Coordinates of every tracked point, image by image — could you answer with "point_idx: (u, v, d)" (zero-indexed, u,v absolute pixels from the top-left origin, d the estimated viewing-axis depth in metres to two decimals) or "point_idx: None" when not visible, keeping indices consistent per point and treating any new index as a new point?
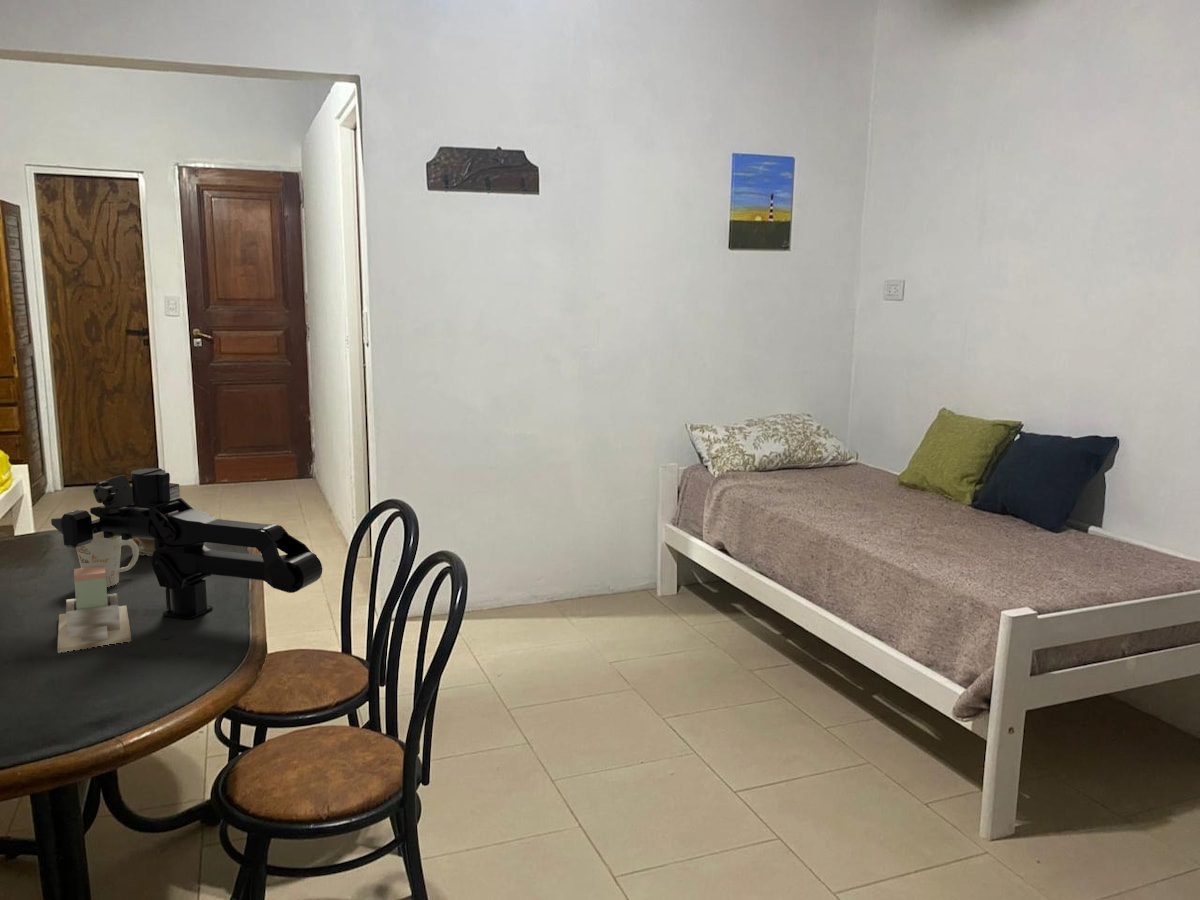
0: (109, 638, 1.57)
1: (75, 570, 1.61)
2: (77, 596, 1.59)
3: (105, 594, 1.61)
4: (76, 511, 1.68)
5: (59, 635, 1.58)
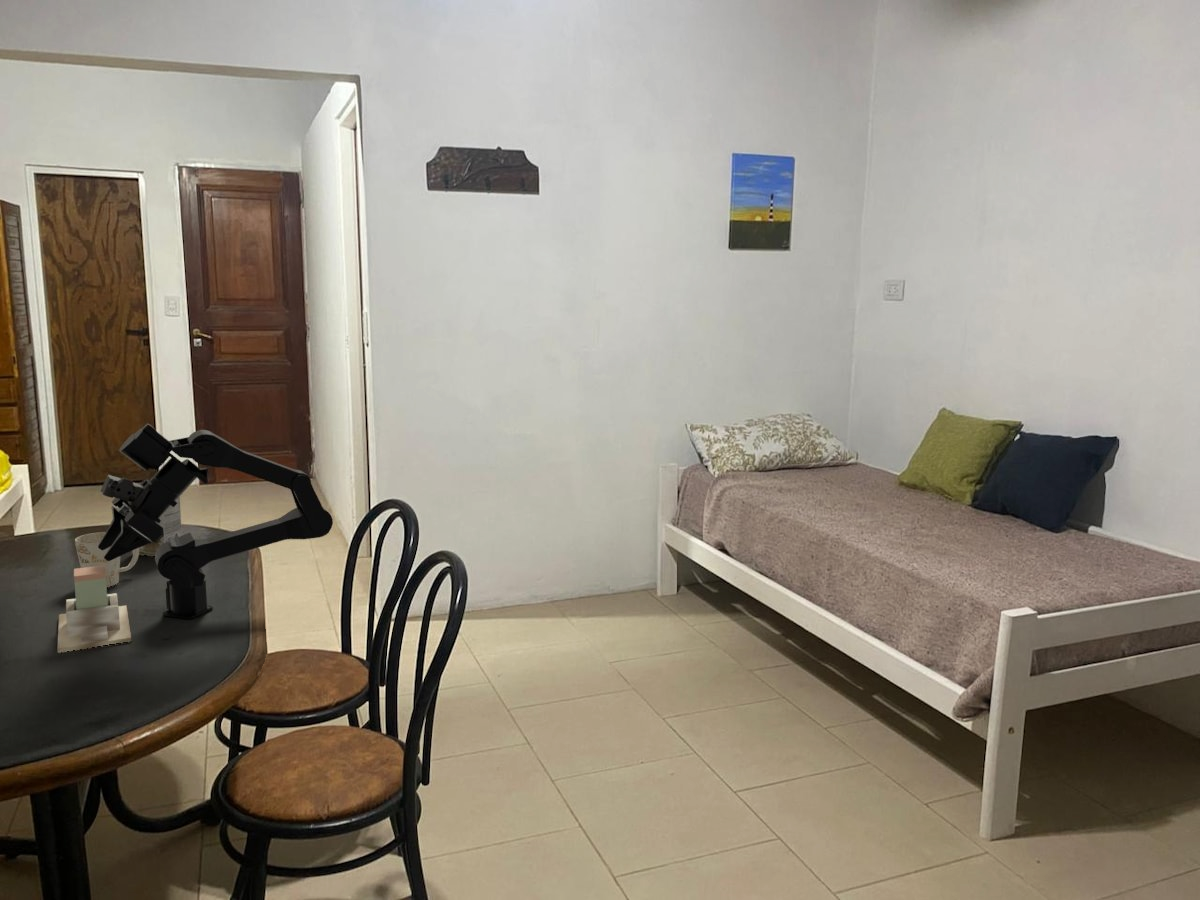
0: (109, 638, 1.57)
1: (75, 570, 1.61)
2: (77, 596, 1.59)
3: (105, 594, 1.61)
4: (126, 517, 1.58)
5: (59, 635, 1.58)
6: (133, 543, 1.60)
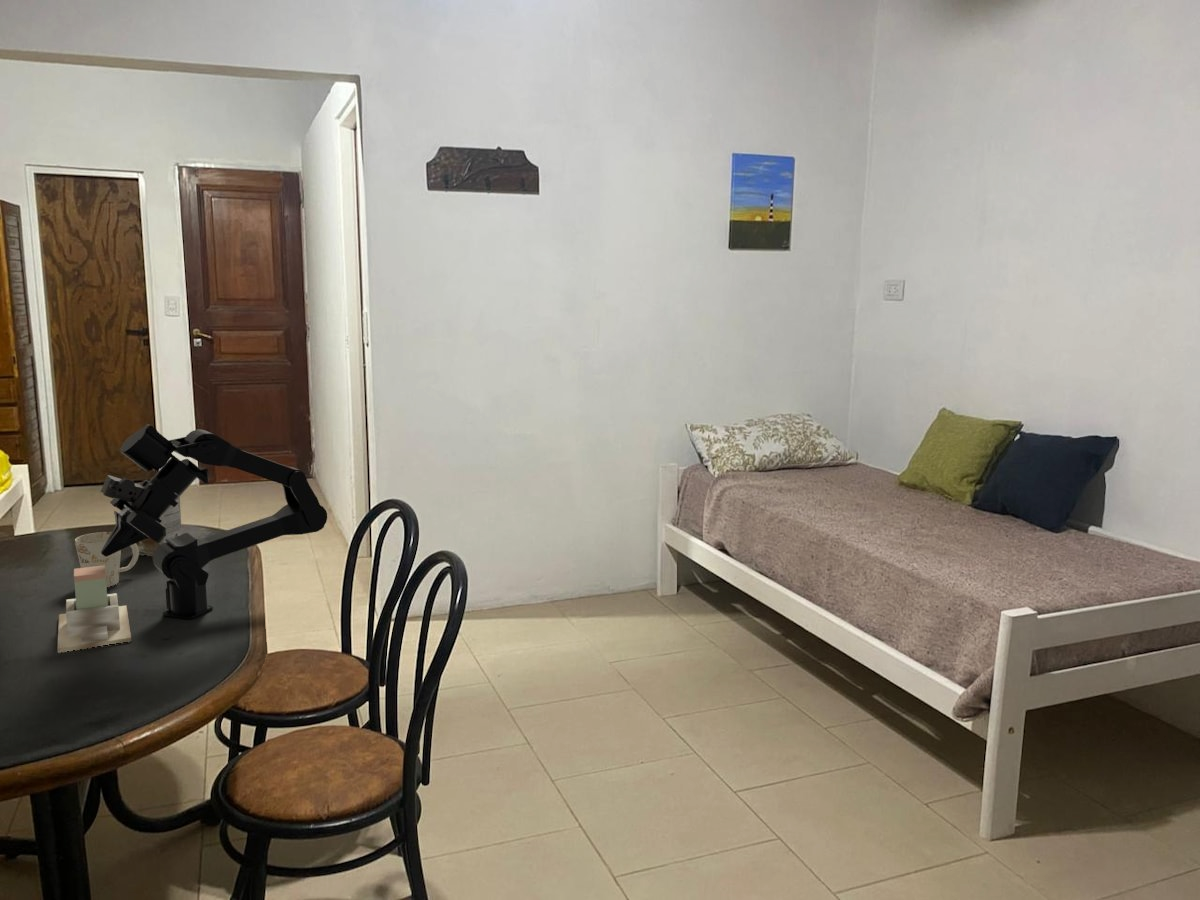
0: (109, 638, 1.57)
1: (75, 570, 1.61)
2: (77, 596, 1.59)
3: (105, 594, 1.61)
4: (128, 517, 1.58)
5: (59, 635, 1.58)
6: (130, 539, 1.63)
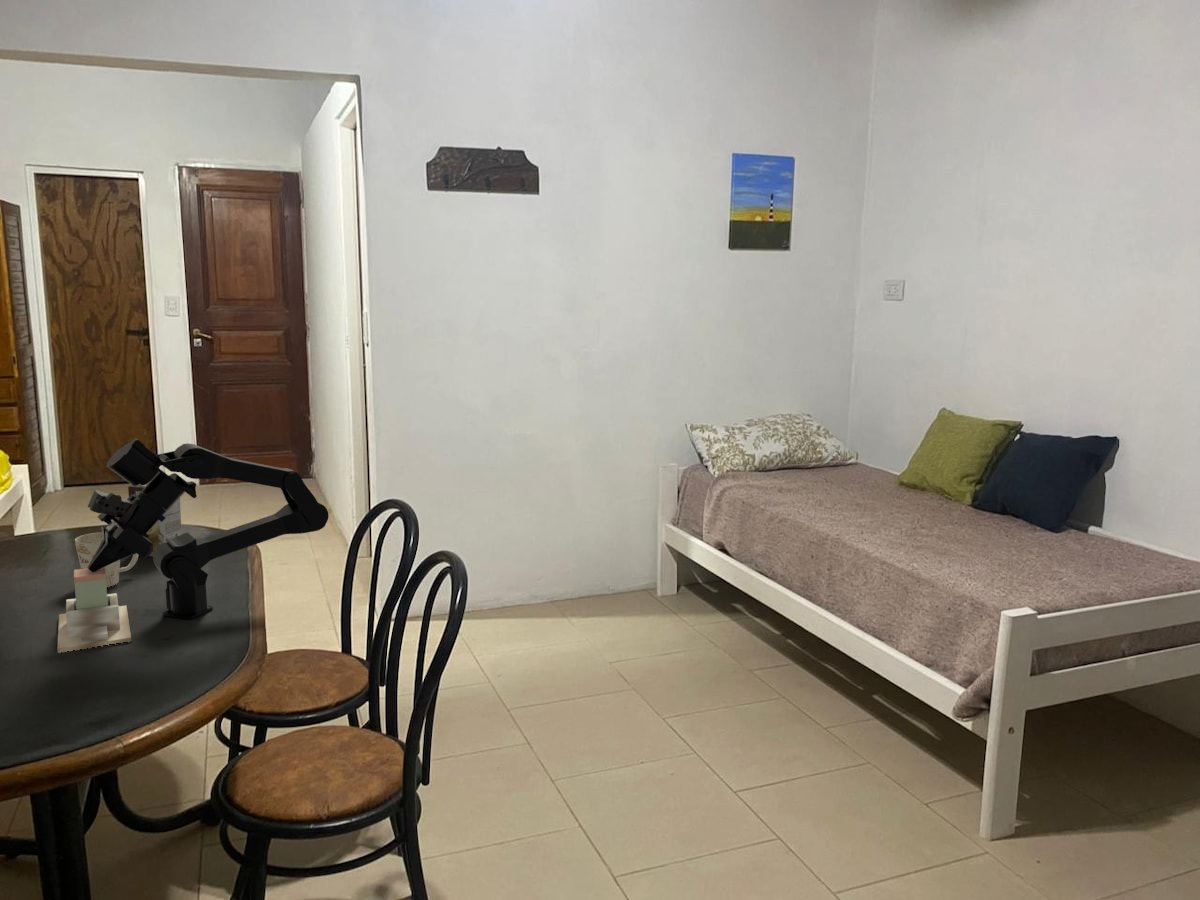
0: (109, 638, 1.57)
1: (75, 571, 1.61)
2: (77, 597, 1.59)
3: (105, 595, 1.61)
4: (115, 533, 1.57)
5: (59, 635, 1.58)
6: (117, 554, 1.62)
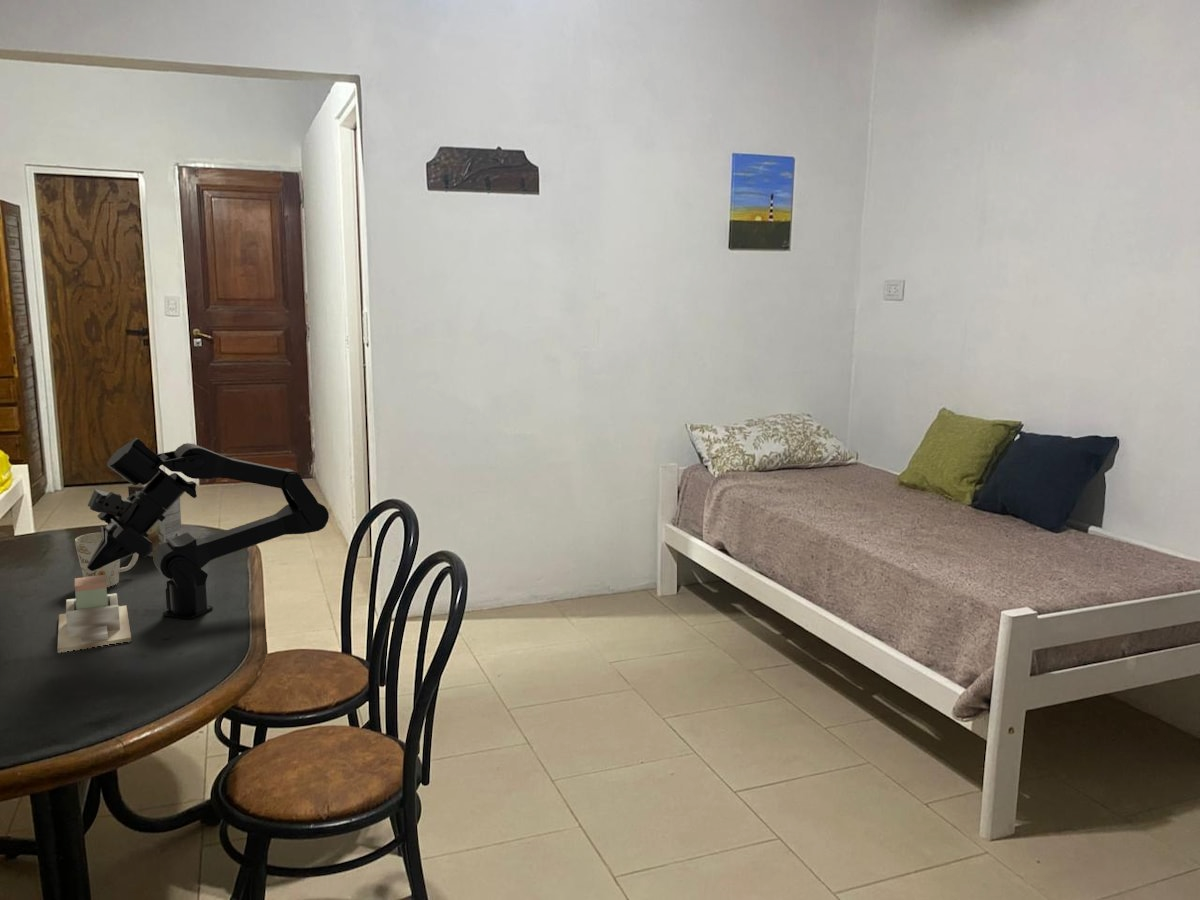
0: (109, 638, 1.57)
1: (76, 580, 1.62)
2: (78, 606, 1.59)
3: (106, 604, 1.61)
4: (115, 532, 1.57)
5: (59, 635, 1.58)
6: (117, 553, 1.62)
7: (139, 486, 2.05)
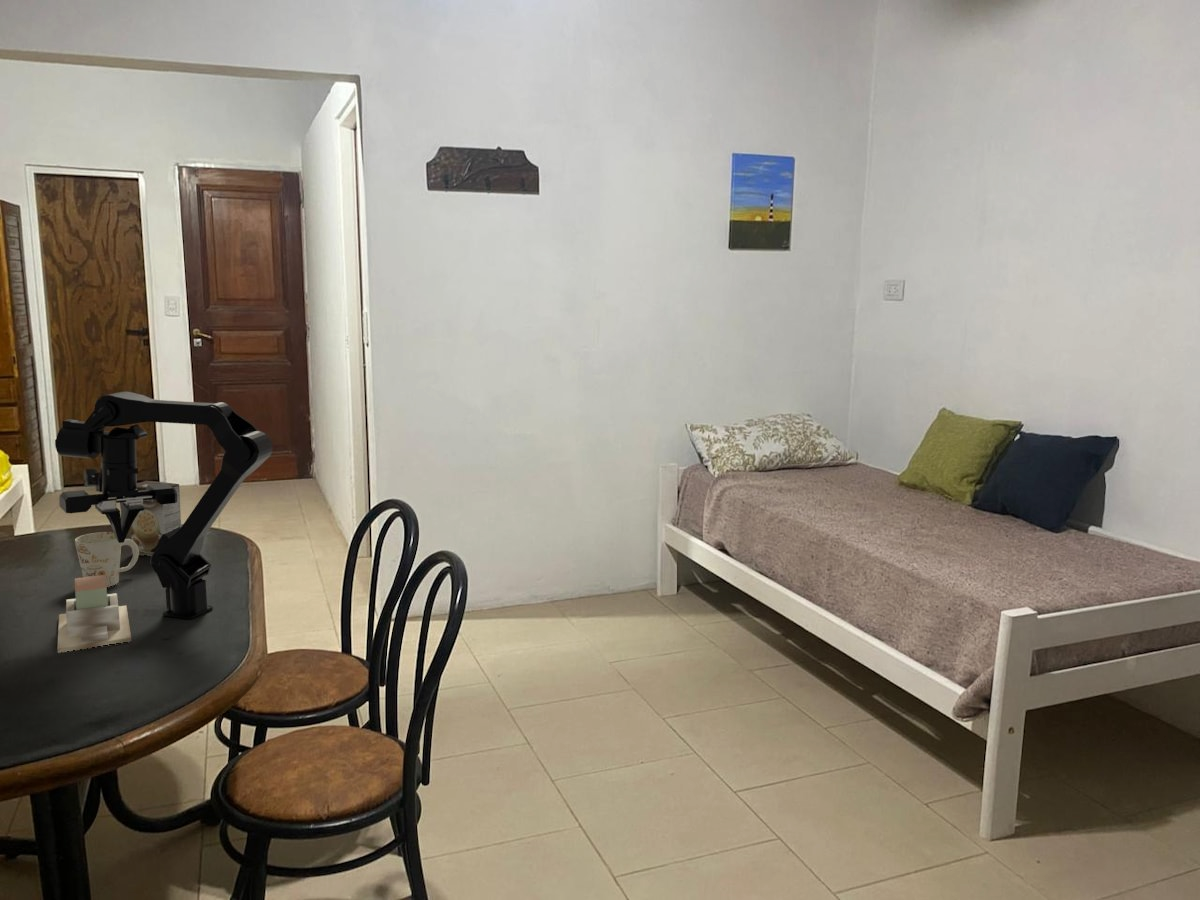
0: (109, 638, 1.57)
1: (76, 580, 1.62)
2: (78, 606, 1.59)
3: (106, 604, 1.61)
4: None
5: (59, 635, 1.58)
6: None
7: (139, 486, 2.05)
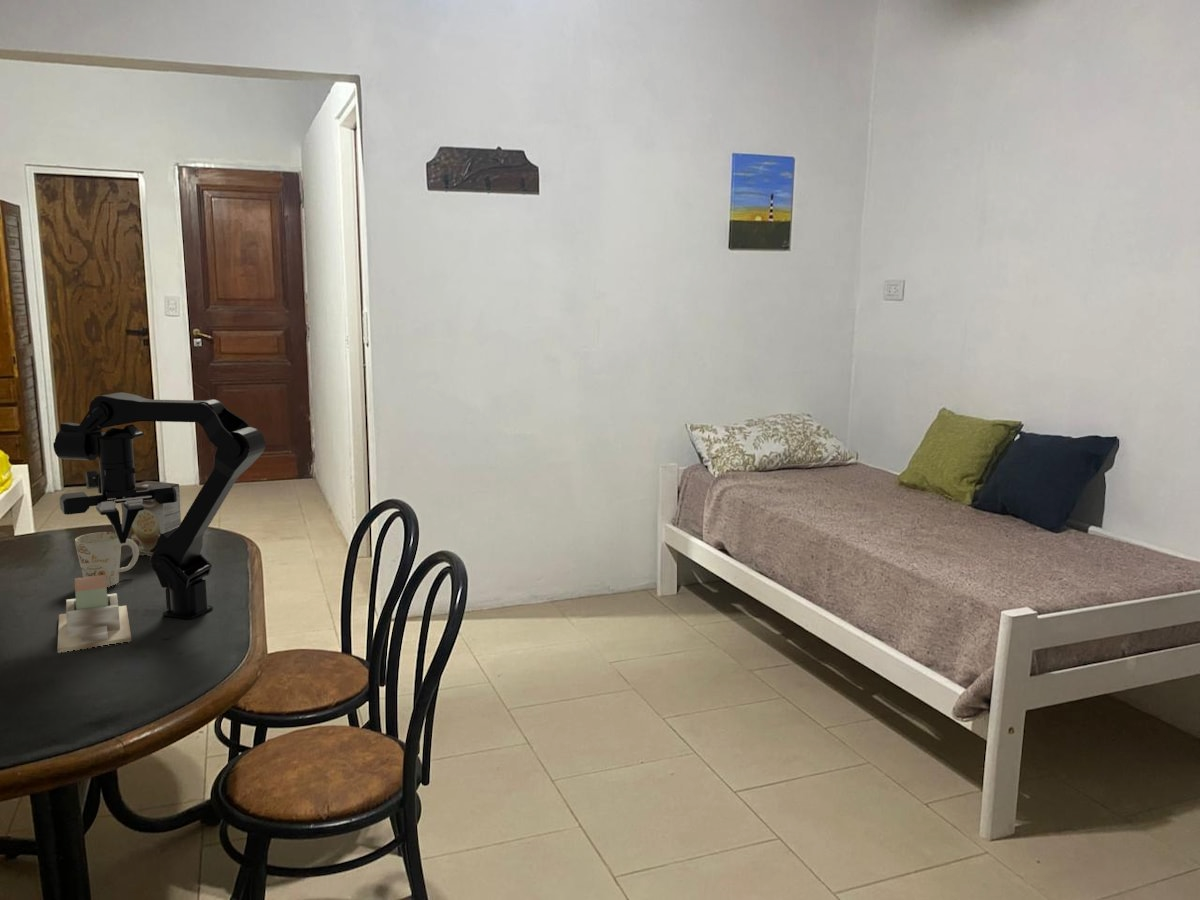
0: (109, 638, 1.57)
1: (76, 580, 1.62)
2: (78, 606, 1.59)
3: (106, 604, 1.61)
4: None
5: (59, 635, 1.58)
6: None
7: (139, 486, 2.05)
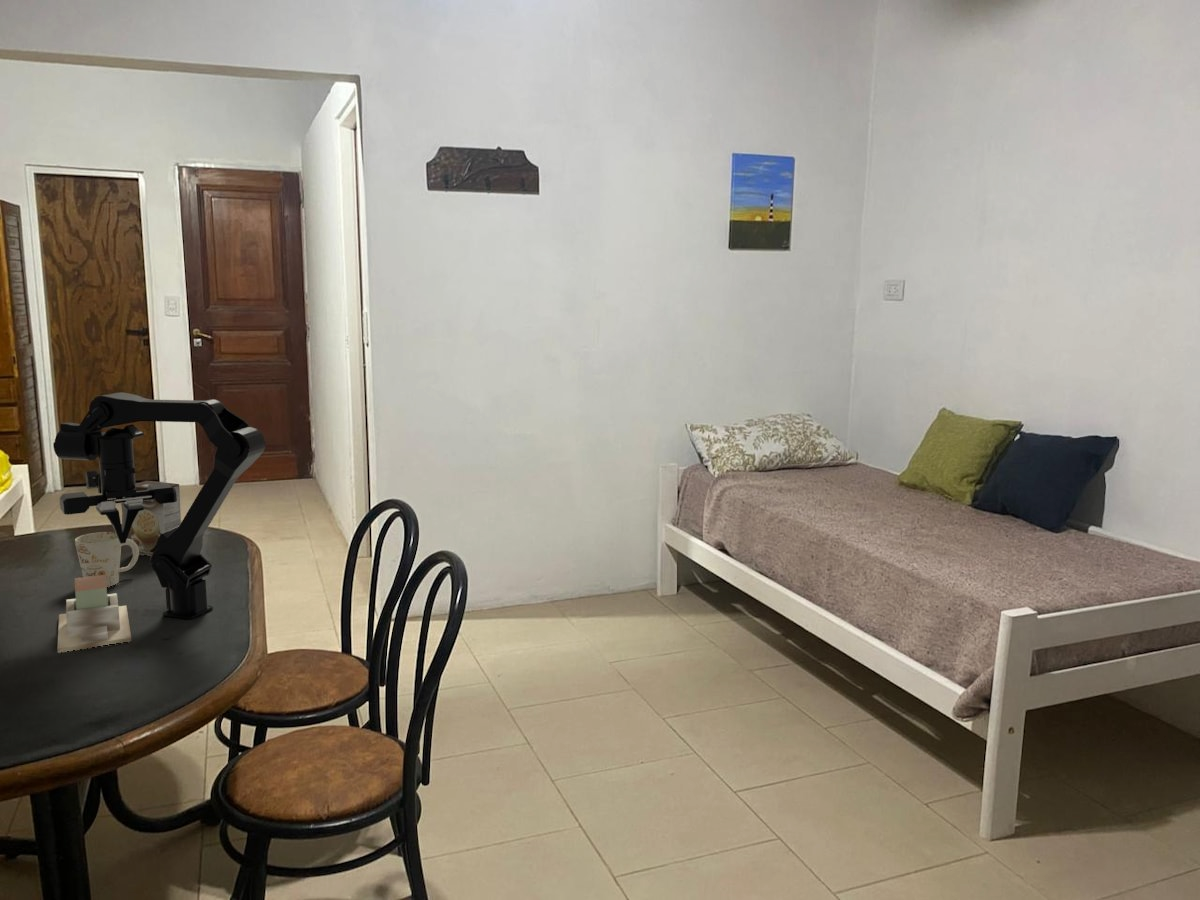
0: (109, 638, 1.57)
1: (76, 580, 1.62)
2: (78, 606, 1.59)
3: (106, 604, 1.61)
4: None
5: (59, 635, 1.58)
6: None
7: (139, 486, 2.05)
